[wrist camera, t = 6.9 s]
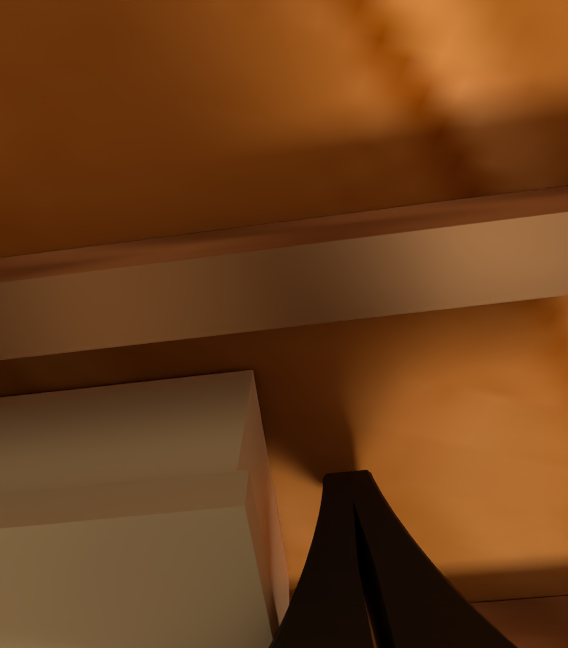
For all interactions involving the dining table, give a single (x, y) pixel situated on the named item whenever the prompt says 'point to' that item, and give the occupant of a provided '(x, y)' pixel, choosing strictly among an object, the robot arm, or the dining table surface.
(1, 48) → the dining table surface
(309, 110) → the dining table surface
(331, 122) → the dining table surface
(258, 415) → the beige square block
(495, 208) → the bay
